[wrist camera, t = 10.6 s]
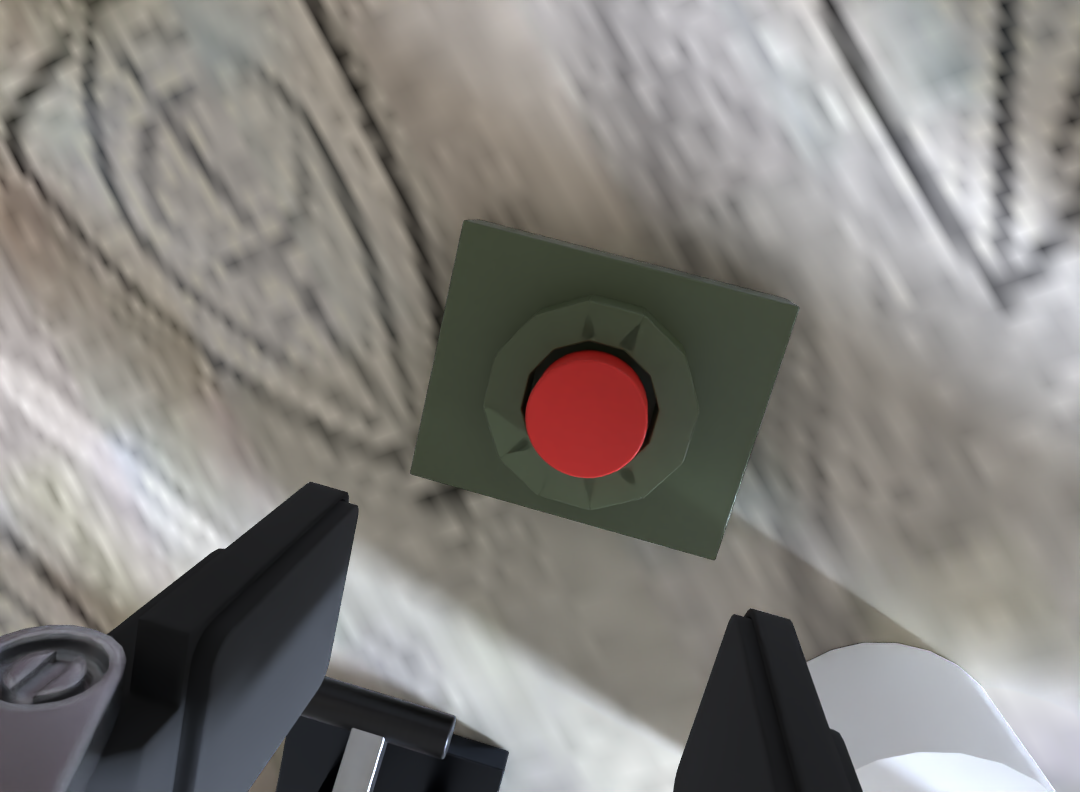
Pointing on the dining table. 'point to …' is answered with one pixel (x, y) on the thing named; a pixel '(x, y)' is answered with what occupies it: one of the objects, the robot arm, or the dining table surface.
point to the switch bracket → (387, 763)
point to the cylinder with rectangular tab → (919, 723)
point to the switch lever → (376, 729)
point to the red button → (587, 414)
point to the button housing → (621, 330)
